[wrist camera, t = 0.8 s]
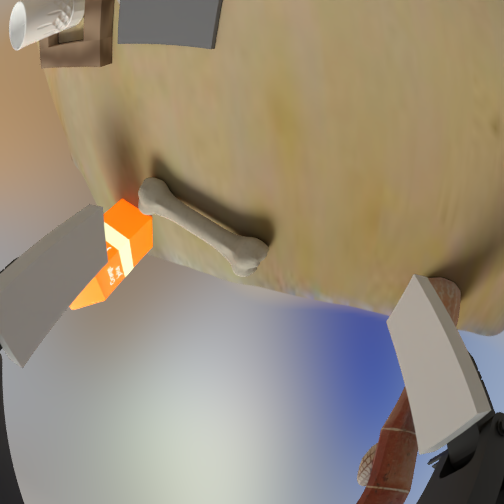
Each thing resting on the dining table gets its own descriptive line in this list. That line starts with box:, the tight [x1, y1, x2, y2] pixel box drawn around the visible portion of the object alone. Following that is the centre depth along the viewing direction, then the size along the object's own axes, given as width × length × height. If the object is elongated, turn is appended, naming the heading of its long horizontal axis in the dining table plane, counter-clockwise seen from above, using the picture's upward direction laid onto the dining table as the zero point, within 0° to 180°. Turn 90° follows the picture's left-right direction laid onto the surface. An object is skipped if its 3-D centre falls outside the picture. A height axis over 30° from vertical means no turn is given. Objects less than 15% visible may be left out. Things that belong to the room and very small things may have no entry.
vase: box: [357, 277, 461, 504], centre depth 20 cm, size 11×7×30 cm
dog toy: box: [138, 177, 269, 277], centre depth 36 cm, size 20×6×5 cm, turn 72°
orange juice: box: [69, 199, 153, 310], centre depth 42 cm, size 8×9×20 cm
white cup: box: [9, 0, 85, 50], centre depth 16 cm, size 8×8×10 cm
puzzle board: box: [39, 0, 114, 68], centre depth 19 cm, size 20×20×2 cm
